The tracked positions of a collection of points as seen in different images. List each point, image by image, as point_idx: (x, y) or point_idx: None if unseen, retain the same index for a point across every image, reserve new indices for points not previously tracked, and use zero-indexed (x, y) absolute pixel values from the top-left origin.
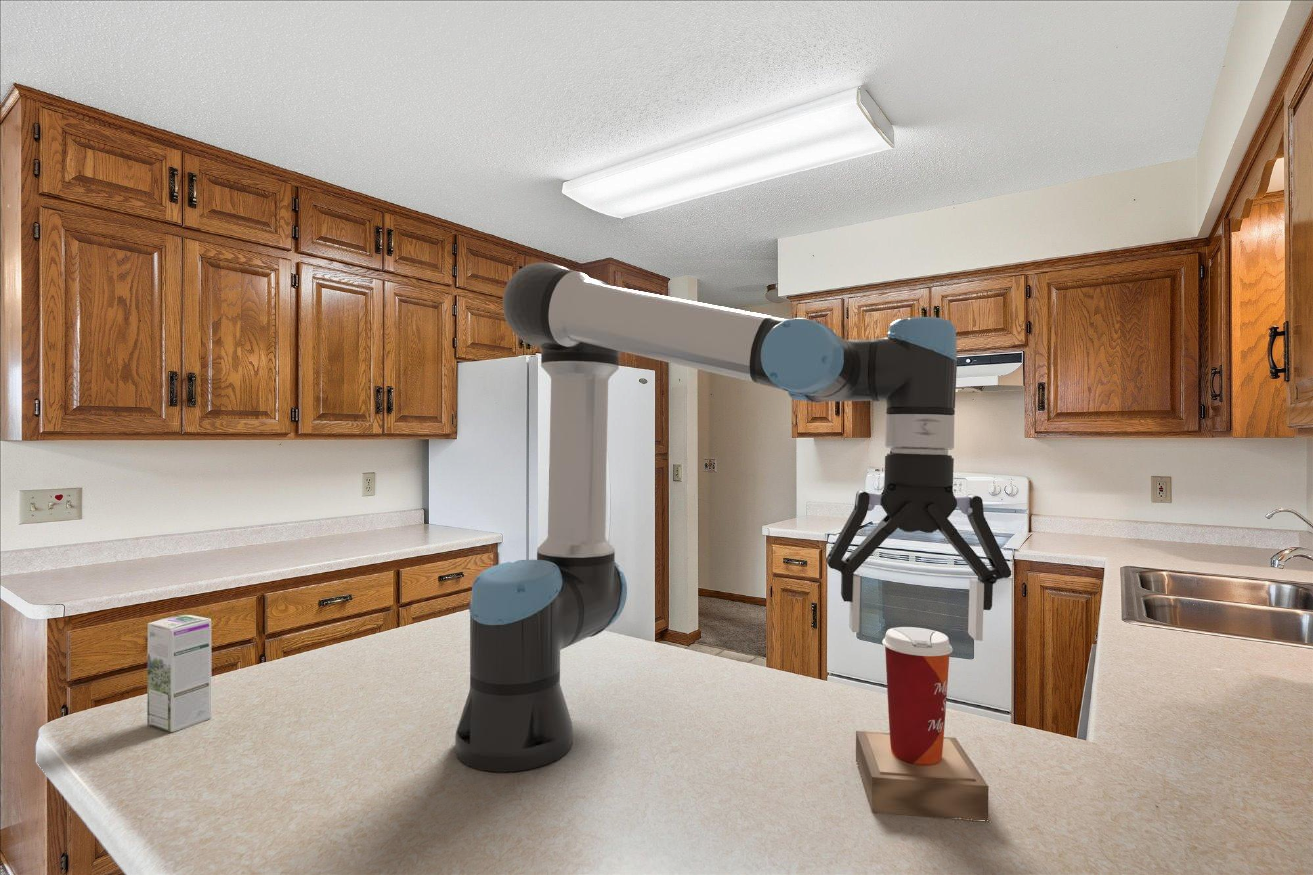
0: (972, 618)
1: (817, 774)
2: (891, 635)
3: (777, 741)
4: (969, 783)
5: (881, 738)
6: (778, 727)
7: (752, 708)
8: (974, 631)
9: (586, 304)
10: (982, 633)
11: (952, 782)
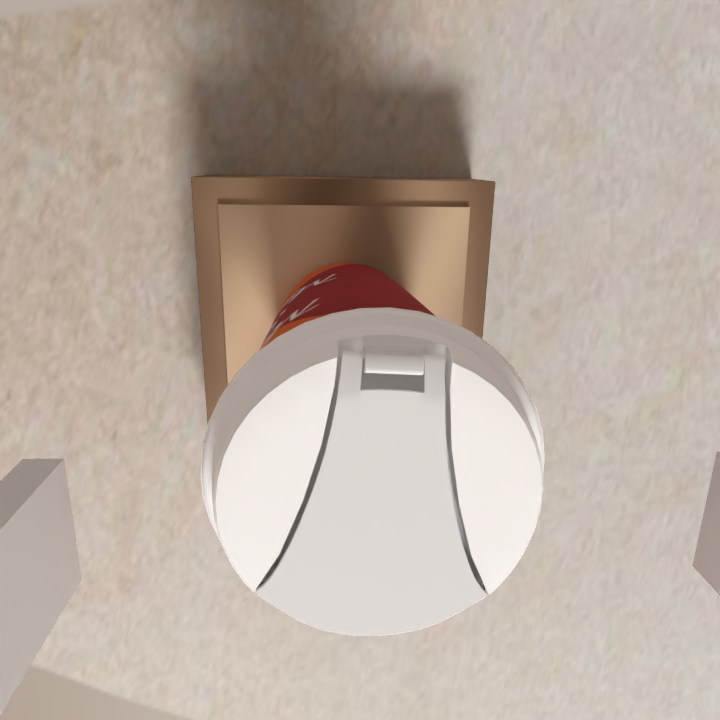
0: (19, 589)
1: (559, 337)
2: (531, 463)
3: (621, 482)
4: (239, 185)
5: None
6: (604, 553)
7: (647, 638)
8: (46, 503)
9: None
10: (1, 482)
11: (284, 184)
